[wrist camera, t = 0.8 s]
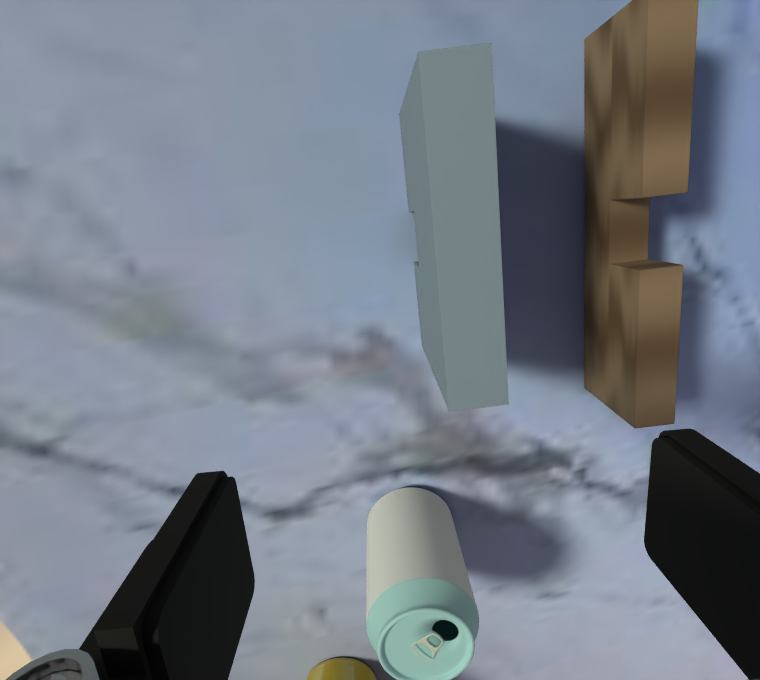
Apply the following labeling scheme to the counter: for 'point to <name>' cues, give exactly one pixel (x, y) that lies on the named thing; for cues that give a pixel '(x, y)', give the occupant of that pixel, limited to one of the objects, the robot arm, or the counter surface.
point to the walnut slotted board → (635, 202)
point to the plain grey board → (457, 222)
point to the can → (418, 588)
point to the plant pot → (341, 670)
